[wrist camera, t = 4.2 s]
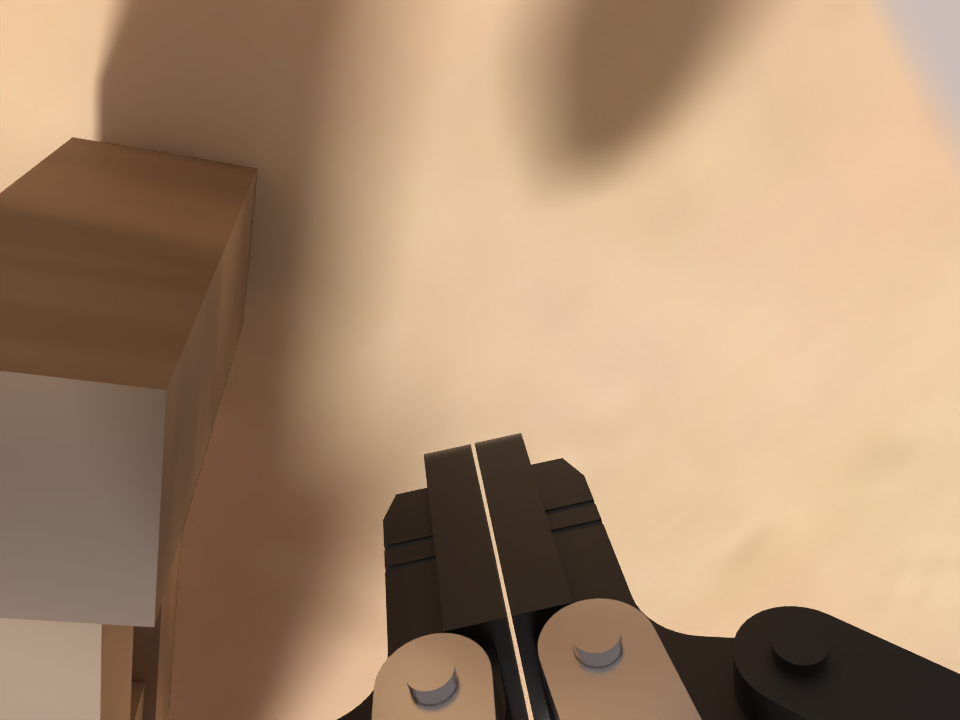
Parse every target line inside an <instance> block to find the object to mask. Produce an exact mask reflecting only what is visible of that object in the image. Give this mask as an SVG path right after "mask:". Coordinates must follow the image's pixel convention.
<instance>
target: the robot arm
mask: <svg viewBox="0 0 960 720" xmlns="http://www.w3.org/2000/svg"><path fill="white" fill-rule="evenodd" d="M475 447H476V452H477V456H478V461H479V466H480V470H481V475H482V480H483V485H484V489H485V494H486V499H487V503H488V508H489V513H490V517H491V522H492V527H493V531H494V536H495V541H496V545H497V550H498V555H499V559H500V564H501V569H502V573H503V578H504V583H505V587H506V592H507V597H508V601H509V606H510V611H511V615H512V620H513V625H514V629H515V634H516V639H517V643H518V648H519V653H520V657H521V662H522V667H523V671H524V676H525V680H526V685H527V690H528V694H529V699H530V704H531V708H532V713H533V718H534V720H960V674H958V673H956V672H954V671H952V670H950V669H947V668H945V667H943V666H941V665H939V664H936V663H934V662H932V661H930V660H928V659H925V658H923V657H921V656H919V655H917V654H914V653H912V652H910V651H908V650H906V649H903V648H901V647H899V646H897V645H895V644H892V643H890V642H888V641H886V640H883V639H881V638H879V637H877V636H875V635H872V634H870V633H868V632H866V631H864V630H861V629H859V628H857V627H855V626H853V625H850V624H848V623H846V622H844V621H842V620H839V619H837V618H835V617H833V616H831V615H828V614H826V613H823V612H820V611H818V610H814V609H810V608H804V607H796V606H784V607H776V608H771V609H767V610H764V611H762V612H759V613H757V614H755V615H754V616H752V617H751V618H749V619H748V620H747V621H746V622H745V623H744V624H743V625H742V626H741V627H740V629H739V630H738V632H737V633H736V636H735V638H724V637H705V636H693V635H686V634H682V633H678V632H675V631H672V630H669V629H666V628H664V627H662V626H660V625H658V624H657V623H655V622H654V621H652V620H651V619H649V618H648V617H647V616H646V615H645V614H644V613H643V612H642V611H641V610H640V609H639V608H638V606H637V605H636V604H635V602H634V600H633V598H632V596H631V593H630V591H629V588H628V586H627V583H626V580H625V578H624V575H623V573H622V570H621V568H620V565H619V563H618V560H617V558H616V555H615V553H614V550H613V548H612V545H611V542H610V540H609V537H608V535H607V532H606V530H605V527H604V525H603V524H602V521H601V517H600V515H599V512H598V510H597V507H596V505H595V504H594V499H593V497H592V494H591V492H590V489H589V487H588V484H587V482H586V479H585V477H584V475H583V474H581V473H580V472H579V471H578V470H576V469H575V468H574V467H573V466H571V465H570V464H569V463H568V462H567V461H565V460H564V459H563V458H561V459H556V460H551V461H547V462H542V463H538V464H533V465H531V464H530V460H529V457H528V454H527V451H526V447H525V444H524V441H523V438H522V435H521V433H519V434H515V435H510V436H505V437H501V438H496V439H492V440H487V441H482V442H478V443H475ZM424 461H425V470H426V478H427V487H428V488H424V489H420V490H415V491H411V492H406V493H401V494H397V495H396V496H395V498H394V500H393V502H392V504H391V506H390V508H389V510H388V512H387V514H386V516H385V518H384V520H383V528H384V547H385V551H384V555H385V569H386V572H385V582H386V609H387V636H388V659H387V660H386V662H385V663H384V664H383V666H382V667H381V669H380V671H379V673H378V675H377V678H376V681H375V686H374V690H373V691H372V693H371V694H370V695H369V696H368V697H367V698H366V699H365V700H364V701H363V702H362V703H361V704H360V705H359V706H357V707H356V708H355V709H354V710H352V711H351V712H349V713H348V714H346V715H344V716H343V717H341V718H339V719H337V720H529V718H528V713H527V709H526V704H525V699H524V694H523V689H522V685H521V680H520V675H519V670H518V665H517V660H516V656H515V651H514V646H513V641H512V636H511V632H510V627H509V622H508V617H507V612H506V607H505V603H504V598H503V593H502V588H501V583H500V579H499V574H498V569H497V564H496V559H495V555H494V550H493V545H492V540H491V536H490V531H489V527H488V522H487V517H486V513H485V508H484V504H483V499H482V494H481V490H480V485H479V481H478V476H477V472H476V467H475V462H474V458H473V453H472V449H471V444H470V445H465V446H460V447H456V448H451V449H447V450H442V451H437V452H433V453H428V454H424Z"/></svg>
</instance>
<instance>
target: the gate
mask: <svg viewBox="0 0 960 720" xmlns="http://www.w3.org/2000/svg"><path fill="white" fill-rule="evenodd" d="M256 179H257V169H255V168H249V167H243V166H238V165H232V164H226V163H220V162H214V161H208V160H202V159H197V158H191V157H185V156H179V155H173V154H167V153H161V152H156V151H150V150H144V149H138V148H132V147H126V146H120V145H115V144H109V143H103V142H97V141H91V140H85V139H79V138H74V137H72V138H71V139H70V140H69V141H67V142H66V143H65V144H63V145H62V146H61V147H60V148H58V149H57V150H56V151H54V152H53V153H52V154H50V155H49V156H48V157H47V158H45V159H44V160H43V161H41V162H40V163H39V164H38V165H36V166H35V167H34V168H32V169H31V170H30V171H28V172H27V173H26V174H25V175H23V176H22V177H21V178H19V179H18V180H17V181H15V182H14V183H13V184H12V185H10V186H9V187H8V188H6V189H5V190H4V191H3V192H1V193H0V720H169V707H170V692H171V677H172V662H173V647H174V631H175V616H176V601H177V586H178V571H179V556H180V541H181V534H182V530H183V527H184V524H185V520H186V517H187V513H188V510H189V506H190V503H191V500H192V496H193V493H194V489H195V486H196V482H197V479H198V476H199V472H200V469H201V465H202V462H203V458H204V455H205V452H206V448H207V445H208V441H209V438H210V434H211V431H212V428H213V424H214V421H215V417H216V414H217V411H218V407H219V404H220V400H221V397H222V393H223V390H224V387H225V383H226V380H227V376H228V373H229V369H230V366H231V363H232V359H233V356H234V352H235V349H236V345H237V342H238V339H239V335H240V332H241V328H242V325H243V318H244V307H245V296H246V286H247V275H248V264H249V254H250V243H251V232H252V222H253V211H254V201H255V190H256Z"/></svg>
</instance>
